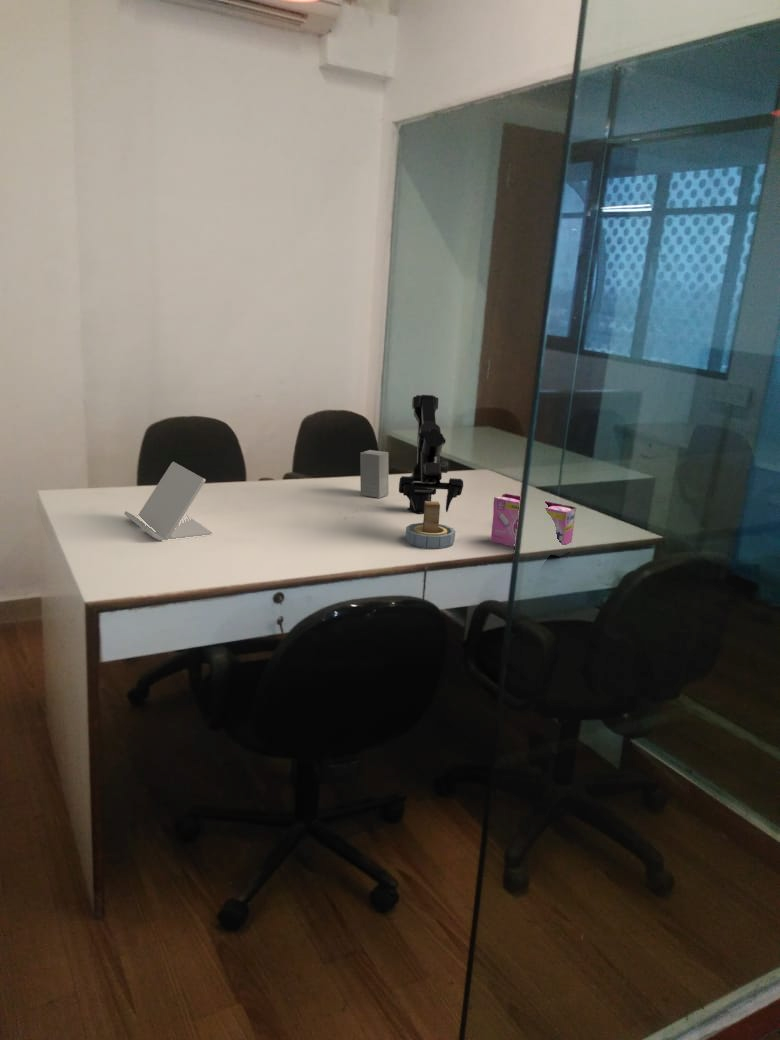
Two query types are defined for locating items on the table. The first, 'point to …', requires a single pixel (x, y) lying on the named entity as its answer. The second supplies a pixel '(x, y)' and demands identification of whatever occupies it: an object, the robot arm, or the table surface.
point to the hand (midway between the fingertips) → (431, 510)
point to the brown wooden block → (431, 517)
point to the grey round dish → (430, 536)
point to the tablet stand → (172, 506)
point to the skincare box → (374, 473)
